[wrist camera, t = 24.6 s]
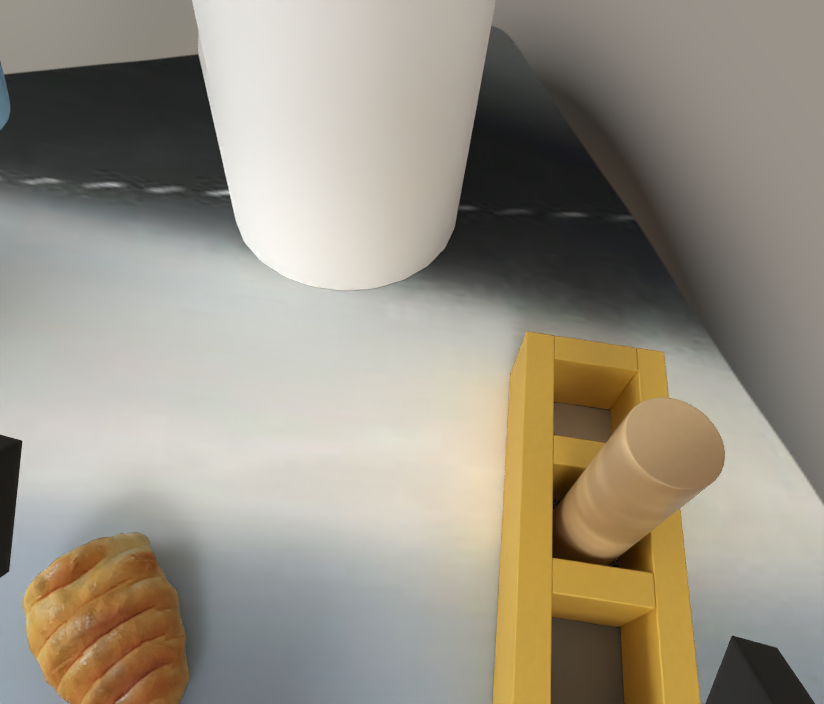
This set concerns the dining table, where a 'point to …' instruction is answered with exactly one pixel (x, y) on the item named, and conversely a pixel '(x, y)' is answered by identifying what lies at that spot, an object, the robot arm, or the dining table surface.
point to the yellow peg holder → (577, 581)
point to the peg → (637, 481)
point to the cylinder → (344, 128)
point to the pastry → (108, 625)
